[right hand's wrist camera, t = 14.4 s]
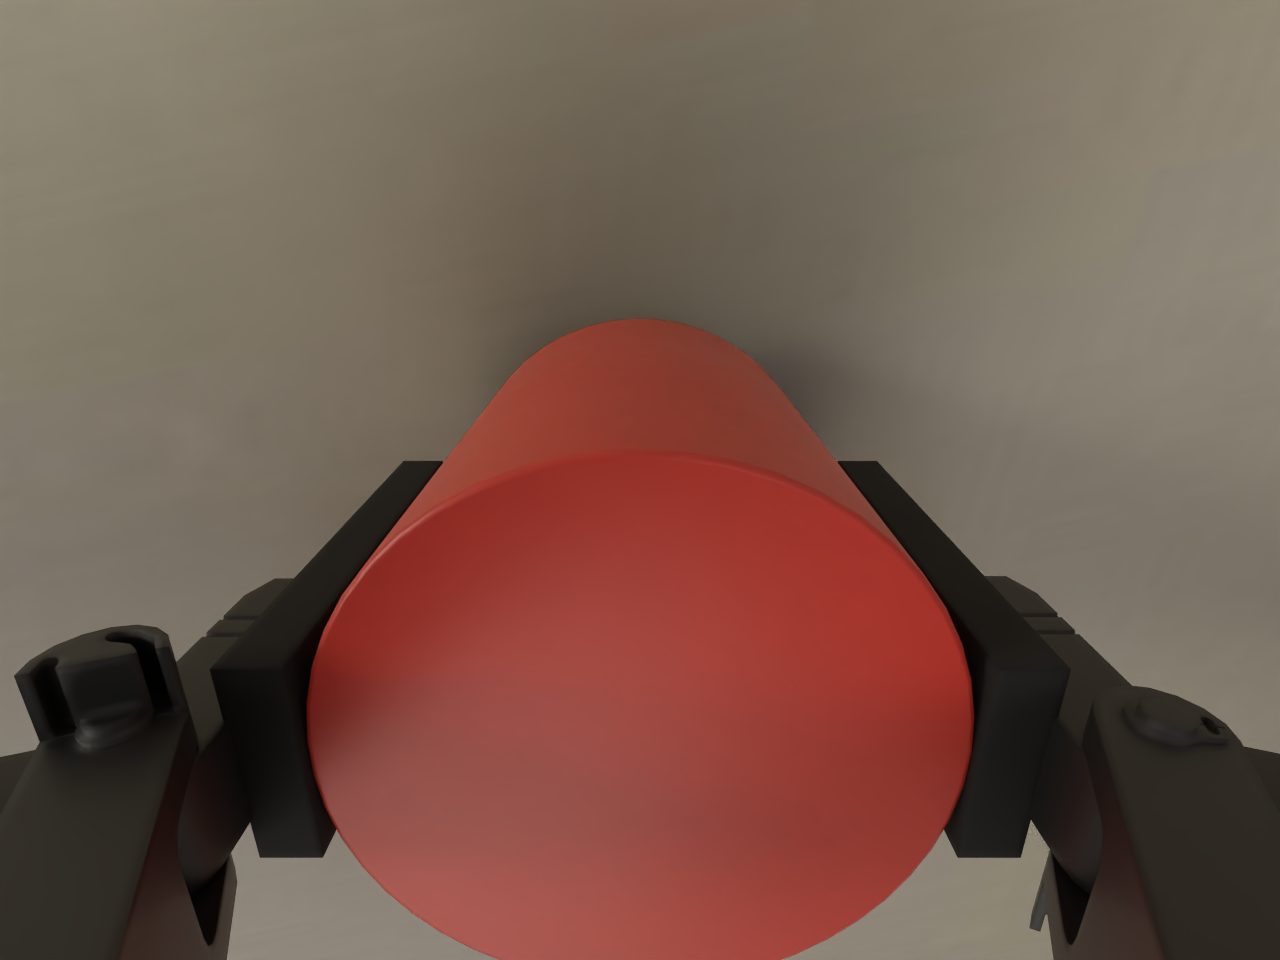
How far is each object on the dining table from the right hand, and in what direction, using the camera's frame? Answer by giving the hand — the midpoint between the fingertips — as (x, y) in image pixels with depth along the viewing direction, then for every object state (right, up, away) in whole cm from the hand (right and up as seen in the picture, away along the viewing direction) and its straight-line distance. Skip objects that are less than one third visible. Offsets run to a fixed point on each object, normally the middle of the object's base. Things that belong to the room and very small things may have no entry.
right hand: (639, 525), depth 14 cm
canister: (0, +1, +2) cm, 2 cm away
